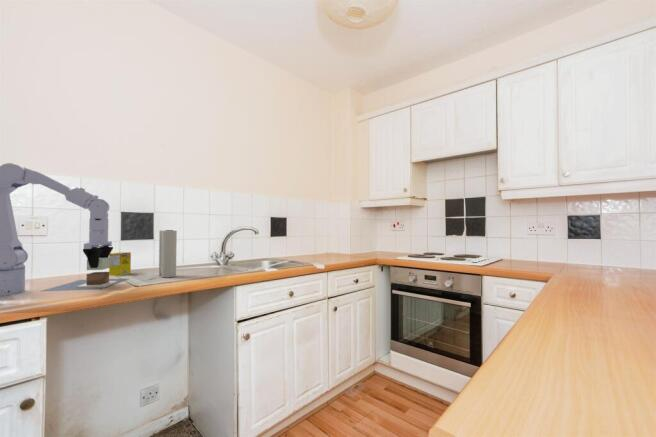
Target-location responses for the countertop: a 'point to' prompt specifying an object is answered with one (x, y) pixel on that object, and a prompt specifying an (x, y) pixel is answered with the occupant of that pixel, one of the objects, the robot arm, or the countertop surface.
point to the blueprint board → (84, 285)
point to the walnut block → (97, 278)
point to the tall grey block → (167, 253)
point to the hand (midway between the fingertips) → (98, 266)
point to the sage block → (100, 264)
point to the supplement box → (120, 263)
